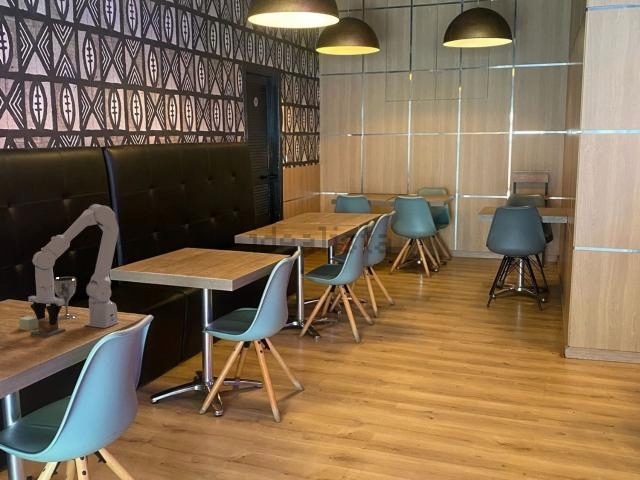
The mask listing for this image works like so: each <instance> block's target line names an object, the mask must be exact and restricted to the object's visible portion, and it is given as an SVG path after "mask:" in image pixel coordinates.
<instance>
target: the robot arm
mask: <svg viewBox="0 0 640 480" xmlns="http://www.w3.org/2000/svg"><path fill="white" fill-rule="evenodd" d="M93 225H94V226H95V225H97V226H99V228H100V229H101V230H102V236H101V240H100V245H99V251H98V254H97V259H96V264H95V270H94V273H93V274H92V275H91V277H90V281H89V283H87V285H86V288H85V290H86V291H85V292H86V294H87V296H89V299H88V312H89V322H87V323H85V324H84V326H88V327H94V328H101V329H106V328H108V327H112V326H114V325H117V324H119V323H120V321H119V320H118V307H117V304H116V303H115V302H112V301H111V300H110V298H111V297H112V290H111V284H112V281H111V279H110V274H111V269H112V264H113V260H114V259H113V258H114V254H115V249H116V245H117V241H118V237H119V232H120V231H119V230H120V228H119V225H118V223H117V219H116V213H115V212H114V211H113V210H112V208H111V207H110V206H107V205H101V204H98V203H93V204H91V205H89V207H88V209H85V210H84V211H83V212H82V214H81V215H80V216H79V217H77V218H76V220H75V221H74V222H73V223H72V224H71V226H69V227H68V229H66V231H65V232H64V233H63V234H57V235H55V236H52V237H51V238H50V241H49V242H48V243H47V244H46V245H45V246H44V247H42V248H40V250H41V251H37V252H35V254H34V255H33V258H32V260H31V261H32V262H31V263H32V264H33V265H34V266H35V267H34V268H35V269H34V270H35V271H34V272H35V273H34V275H35V289H36V295H31V296H28V297H27V299H28V303H32V304H30V309H32V311H33V313H34V315H35V317H37V320H40V319H43V318H46V311H47V313H48V317H49V320H50V325H55V324H56V323H57V318H58V316H59V314H60V311H61V309H62V308H63V306H65V304H64V300H63V299H61V298H60V297H58V296H55V294H56V292H55V288H54V279H55V278H54V271H53V270H54V269H53V267H54V266H55V263H56V260H57V259H58V258H59V257H61V255H63V254H64V253H65V252H66V251H67V250H68V249H69V248H70V246H71V245H70V244H71V241H72V240H73V239H74V238H76V237H77V236H78V235H79V234H81V232H82V231H83V230H84V229H85V228H87V227H89V226H93Z"/></svg>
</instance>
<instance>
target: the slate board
mask: <svg viewBox="0 0 640 480" xmlns="http://www.w3.org/2000/svg"><path fill="white" fill-rule="evenodd" d="M64 332H65V333H66V328H62V327H58V330H55V331H52V332H49V333H47V332H40V331H39V329H38V328H37V329H35V330H32V331H30V333H29V334H30V336H33V337H34V336H35V337H42V338H48V339H49V338H51V337H54V336H56V335H60V334H63V333H64Z"/></svg>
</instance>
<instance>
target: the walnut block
mask: <svg viewBox="0 0 640 480" xmlns="http://www.w3.org/2000/svg"><path fill="white" fill-rule="evenodd" d="M58 328H59V319H58V318H57V323H56V324H55V325H50V320H49V316H47V317H46V316H45V318H43V319H40V320H38V328H37V330H38V329H39V331H40V332H47V333H49V332H52V331H55V330H58Z"/></svg>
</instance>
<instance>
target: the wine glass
mask: <svg viewBox="0 0 640 480" xmlns="http://www.w3.org/2000/svg"><path fill="white" fill-rule="evenodd" d="M76 288H77V278H76V277H75V276H60V277H55V278H54V293H55V294H56V295H57V297H58V298H59V299H63V300H64V308H65V314H62V315H58V320H71V319H75V318H77V317H78V315H77V314H74V313H72V314H70V313H69V309H68V308H69V301H70V300H71V298H72V297H73V296H74V294H75V293H76Z"/></svg>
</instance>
